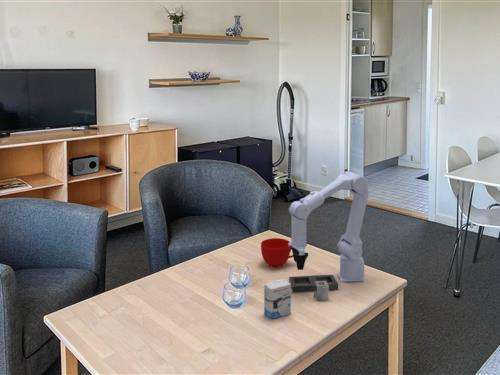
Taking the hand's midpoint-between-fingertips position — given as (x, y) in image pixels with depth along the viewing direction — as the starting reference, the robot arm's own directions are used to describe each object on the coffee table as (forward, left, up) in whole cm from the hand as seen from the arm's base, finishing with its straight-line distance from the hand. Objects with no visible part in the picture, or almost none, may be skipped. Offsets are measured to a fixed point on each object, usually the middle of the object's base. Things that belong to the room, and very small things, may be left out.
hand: (298, 265), depth 196 cm
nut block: (-7, +9, -10) cm, 15 cm away
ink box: (+11, +19, -10) cm, 24 cm away
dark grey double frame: (-6, -1, -10) cm, 12 cm away
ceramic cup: (+4, -23, -10) cm, 25 cm away
